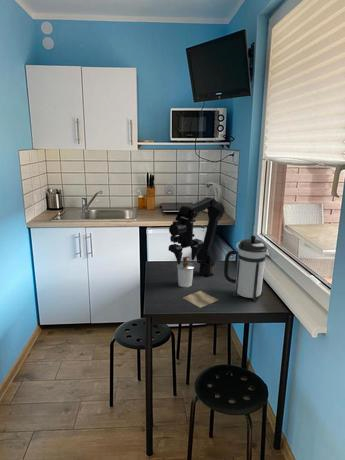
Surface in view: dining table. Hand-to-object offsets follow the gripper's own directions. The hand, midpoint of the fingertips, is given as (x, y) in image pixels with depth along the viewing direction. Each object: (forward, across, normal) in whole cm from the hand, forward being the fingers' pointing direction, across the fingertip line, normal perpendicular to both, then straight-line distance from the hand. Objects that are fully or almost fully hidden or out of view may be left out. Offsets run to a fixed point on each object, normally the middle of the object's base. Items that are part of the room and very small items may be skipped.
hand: (185, 262), depth 164 cm
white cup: (+12, 0, 0) cm, 13 cm away
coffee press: (+12, -15, +26) cm, 33 cm away
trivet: (+12, +5, +16) cm, 21 cm away
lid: (+2, 0, 0) cm, 2 cm away
